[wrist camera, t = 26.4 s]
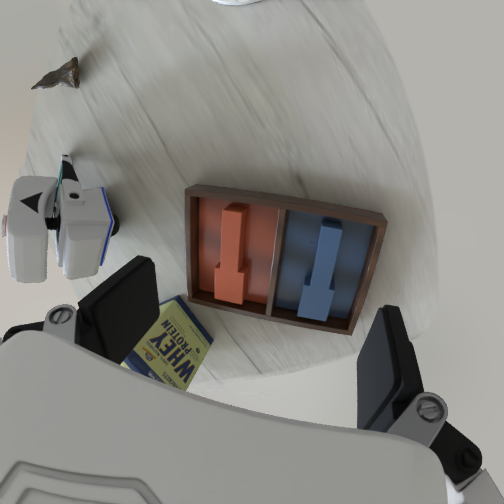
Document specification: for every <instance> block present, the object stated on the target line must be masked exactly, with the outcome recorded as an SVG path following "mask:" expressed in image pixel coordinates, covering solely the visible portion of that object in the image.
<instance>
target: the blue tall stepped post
mask: <svg viewBox="0 0 504 504" xmlns="http://www.w3.org/2000/svg"><path fill="white" fill-rule="evenodd" d="M342 231H343V229H342V223H337V222H332V221H327V220H322V224H321V229H320V235H319V240H318V245H317V251H316V256H315V261H314V266H313V271H312V276H311V278H310V277H305V280H304V285H303V289H302V294H301V299H300V304H299V309H298V314H297V316H299V317H304V318H310V319H315V320H321V321H326V320H327V316H328V313H329V310H330V306H331V303H332V299H333V295H334V292H335V282H332V281H331V279H332V275H333V271H334V267H335V262H336V258H337V254H338V249H339V245H340V240H341V236H342Z"/></svg>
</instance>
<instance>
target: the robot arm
mask: <svg viewBox="0 0 504 504" xmlns="http://www.w3.org/2000/svg"><path fill="white" fill-rule="evenodd" d="M212 1H214V2H217V3H221V4H226V5H244V4H250V3H254V2H258V1H261V0H212ZM78 306H79V309H78V310H77V311H76V309H75V307H73V306H72V305H68V304H63V305H58V306H56V307H54V308H52V309H51V310H50V311H49V312H48V313H47V315H46V317H45V321H43V322H36V323H31V324H25V325H19V326H14V327H11V328H10V329H9V330H8V331H7V332H6V333H5V335H4V337H3V340H2V338H0V504H504V498H503V496H502V495H501V493H500V491H499V490H498V488H497V486H496V485H495V483H494V481H493V480H492V478H491V477H490V475H489V473H488V472H487V470H486V469H484V470H482V469H481V468H480V467H481V465H482V454H481V451H480V449H479V448H478V447H477V446H476V445H475V444H474V443H473V442H471V441H470V440H469V439H468V438H466V437H465V436H464V435H463V434H462V433H460V432H459V431H458V430H457V429H455V428H454V427H453V426H452V425H451V424H449V423H448V422H447V421H446V419H447V416H448V408H447V405H446V403H445V402H444V400H443V399H442V398H441V397H440V396H438V395H437V394H435V393H430V392H424V388H423V384H422V379H421V375H420V371H419V367H418V363H417V359H416V355H415V351H414V347H413V345H412V342H410V341H409V339H408V335H407V332H406V328H405V325H404V321H403V318H402V315H401V312H400V308H399V307H398V306H392V305H384V307H383V308H381V307H380V308H379V309H378V311H377V314H376V316H375V319H374V321H373V324H372V326H371V329H370V331H369V333H368V336H367V338H366V340H365V342H364V345H363V347H362V349H361V351H360V354H359V356H358V359H357V393H358V394H357V398H358V400H357V403H358V407H357V408H358V409H357V413H358V414H357V429H355V428H346V427H337V426H330V425H323V424H317V423H310V422H305V421H298V420H293V419H288V418H282V417H277V416H273V415H268V414H264V413H259V412H255V411H251V410H247V409H243V408H239V407H235V406H232V405H228V404H224V403H221V402H218V401H214V400H211V399H207V398H205V397H201V396H198V395H195V394H192V393H189V392H186V391H183V390H181V389H178V388H175V387H172V386H169V385H167V384H164V383H162V382H159V381H156V380H154V379H151V378H149V377H146V376H144V375H141V374H139V373H137V372H134V371H132V370H130V369H127V368H125V367H123V366H121V363H122V362H123V361H124V360H125V358H126V357H127V356H128V355H129V354H130V352H131V351H132V350H133V349H134V347H135V346H136V345H137V344H138V343H139V341H140V340H141V339H142V338H143V336H144V335H145V334H146V333H147V332H148V330H149V329H150V328H151V327H152V326H153V324H154V323H155V322H156V321H157V320H158V318H159V316H160V307H159V300H158V292H157V283H156V273H155V264H154V262H152V260H151V258H149V257H144V256H140V255H138V256H136V257H135V258H133V259H132V260H131V261H130V262H128V263H127V264H126V265H124V266H123V267H122V268H120V269H119V270H118V271H117V272H115V273H114V274H113V275H111V276H110V277H109V278H108V279H106V280H105V281H104V282H103V283H101V284H100V285H99V286H98V287H96V288H95V289H94V290H93V291H91V292H90V293H89V294H88V295H87V296H85V297H84V298H83V299H82V300H80V301H79V302H78Z"/></svg>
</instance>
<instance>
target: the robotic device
mask: <svg viewBox="0 0 504 504" xmlns="http://www.w3.org/2000/svg"><path fill="white" fill-rule="evenodd" d="M72 165H73V163H72V160H71V157H70V155H62V156H61V168H60V173H59V178H58V179H57V178H55V177H44V176H22V177H20V178H18V179H17V180H16V181H15V182H14V184H13V187H12V192H11V197H10V203H9V209H8V215H7V216H5V215H3V220H2V237H4V236H6V237H7V254H8V266H9V271H10V274H11V277H12V278H14V279H15V280H16V281H17V282H22V283H40V282H44V281H45V280H46V277H47V275H46V274H47V248H48V229H50V230H54V234H55V244H56V253H57V261H58V266H59V267H63V270H64V275H65V277H66V278H67V279H70V280H73V279H78V278H83V277H89V276H94V275H96V274H97V272H98V268H99V266H102V264H103V262H104V259H105V256H106V252H107V248H108V245H109V241H110V237H111V236H114V235H115V234H116V233H117V232H118V230H119V227H120V223H119V219H118V218H117V216H116V215H114V214H113V213H111V210H110V206H109V203H108V200H107V196H106V193H105V190H104V188H103V187H99V188H96V189H91V190H82V187H81V184H80V182H79V180H78V178H77V176H76V173H75V171H74V169H73V166H72ZM53 213H54V218H53Z"/></svg>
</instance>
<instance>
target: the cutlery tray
mask: <svg viewBox="0 0 504 504" xmlns="http://www.w3.org/2000/svg"><path fill="white" fill-rule="evenodd" d="M228 205H233V206H240V207H247V215H246V228H245V241H244V255H243V265H246V266H248V278H247V290H246V297H245V299H244V301H243V303H242V304H237V303H232V302H228V301H224V300H219V299H215V267H216V266H217V264H218V263H219V262H220V260H221V232H222V210H223V209H224V208H226V207H227V206H228ZM322 220H327V221H332V222H337V223H342V229H343V231H342V236H341V240H340V245H339V249H338V254H337V258H336V262H335V267H334V271H333V275H332V279H331V281H332V282H335V292H334V295H333V299H332V303H331V306H330V310H329V313H328V316H327V320H326V321H321V320H315V319H310V318H304V317H299V316H297V314H298V309H299V304H300V299H301V294H302V289H303V285H304V280H305V277H310V278H311V276H312V271H313V266H314V261H315V256H316V251H317V245H318V240H319V235H320V229H321V224H322ZM387 222H388V221H387V220H386V218H385V217H384V215H383V214H381V213H376V212H372V211H367V210H362V209H357V208H352V207H347V206H342V205H336V204H331V203H326V202H320V201H314V200H308V199H302V198H296V197H290V196H284V195H277V194H271V193H264V192H257V191H249V190H242V189H234V188H226V187H217V186H208V185H199V184H195V185H193V186H190V187H188V188H186V189H185V253H186V280H187V301H189V302H193V303H197V304H200V305H204V306H208V307H212V308H216V309H221V310H225V311H229V312H233V313H237V314H242V315H246V316H251V317H255V318H260V319H264V320H269V321H274V322H279V323H284V324H289V325H294V326H299V327H304V328H310V329H315V330H321V331H327V332H332V333H338V334H344V335H351V336H352V333H353V331H354V328H355V326H356V323H357V320H358V317H359V315H360V312H361V309H362V306H363V303H364V301H365V298H366V295H367V292H368V289H369V286H370V283H371V279H372V276H373V273H374V270H375V266H376V263H377V260H378V256H379V253H380V249H381V245H382V242H383V238H384V234H385V230H386V226H387Z"/></svg>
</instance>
